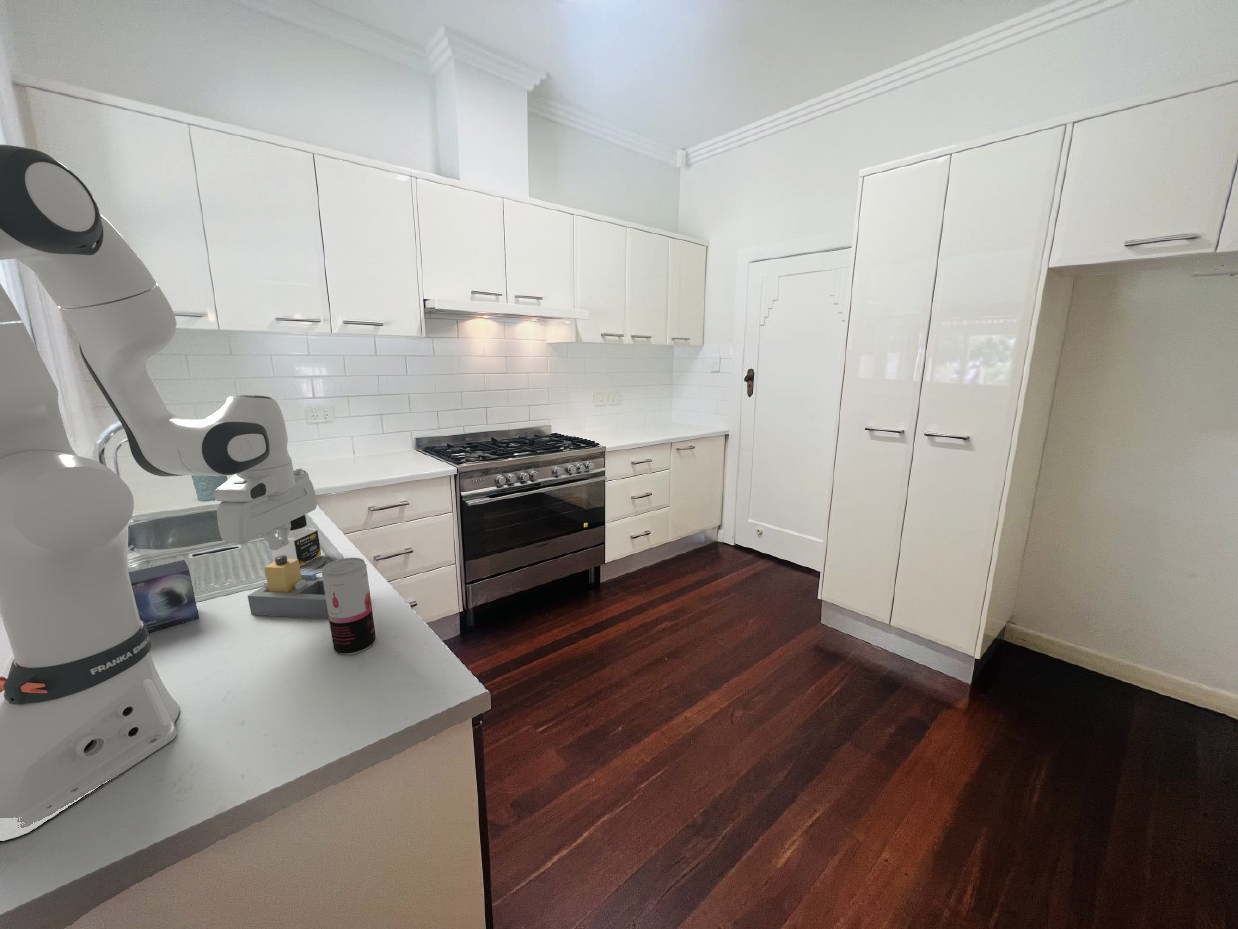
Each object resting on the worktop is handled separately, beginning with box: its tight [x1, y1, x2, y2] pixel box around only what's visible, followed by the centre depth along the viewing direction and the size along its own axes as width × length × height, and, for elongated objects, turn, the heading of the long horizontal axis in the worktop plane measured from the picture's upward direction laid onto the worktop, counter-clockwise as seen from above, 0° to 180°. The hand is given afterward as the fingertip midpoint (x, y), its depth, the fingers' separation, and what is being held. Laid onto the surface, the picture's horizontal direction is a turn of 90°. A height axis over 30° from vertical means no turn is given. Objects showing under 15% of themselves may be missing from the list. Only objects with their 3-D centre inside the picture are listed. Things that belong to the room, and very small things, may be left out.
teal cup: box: [190, 475, 229, 502], centre depth 172 cm, size 10×10×12 cm
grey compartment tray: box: [247, 571, 329, 620], centre depth 100 cm, size 9×16×5 cm, turn 84°
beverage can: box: [321, 557, 377, 656], centre depth 85 cm, size 6×6×15 cm
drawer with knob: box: [264, 555, 302, 593], centre depth 100 cm, size 4×4×10 cm
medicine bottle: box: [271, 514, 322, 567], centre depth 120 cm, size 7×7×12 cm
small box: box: [129, 559, 200, 634], centre depth 93 cm, size 11×6×10 cm, turn 136°
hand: (279, 547), depth 98 cm, fingers closed
